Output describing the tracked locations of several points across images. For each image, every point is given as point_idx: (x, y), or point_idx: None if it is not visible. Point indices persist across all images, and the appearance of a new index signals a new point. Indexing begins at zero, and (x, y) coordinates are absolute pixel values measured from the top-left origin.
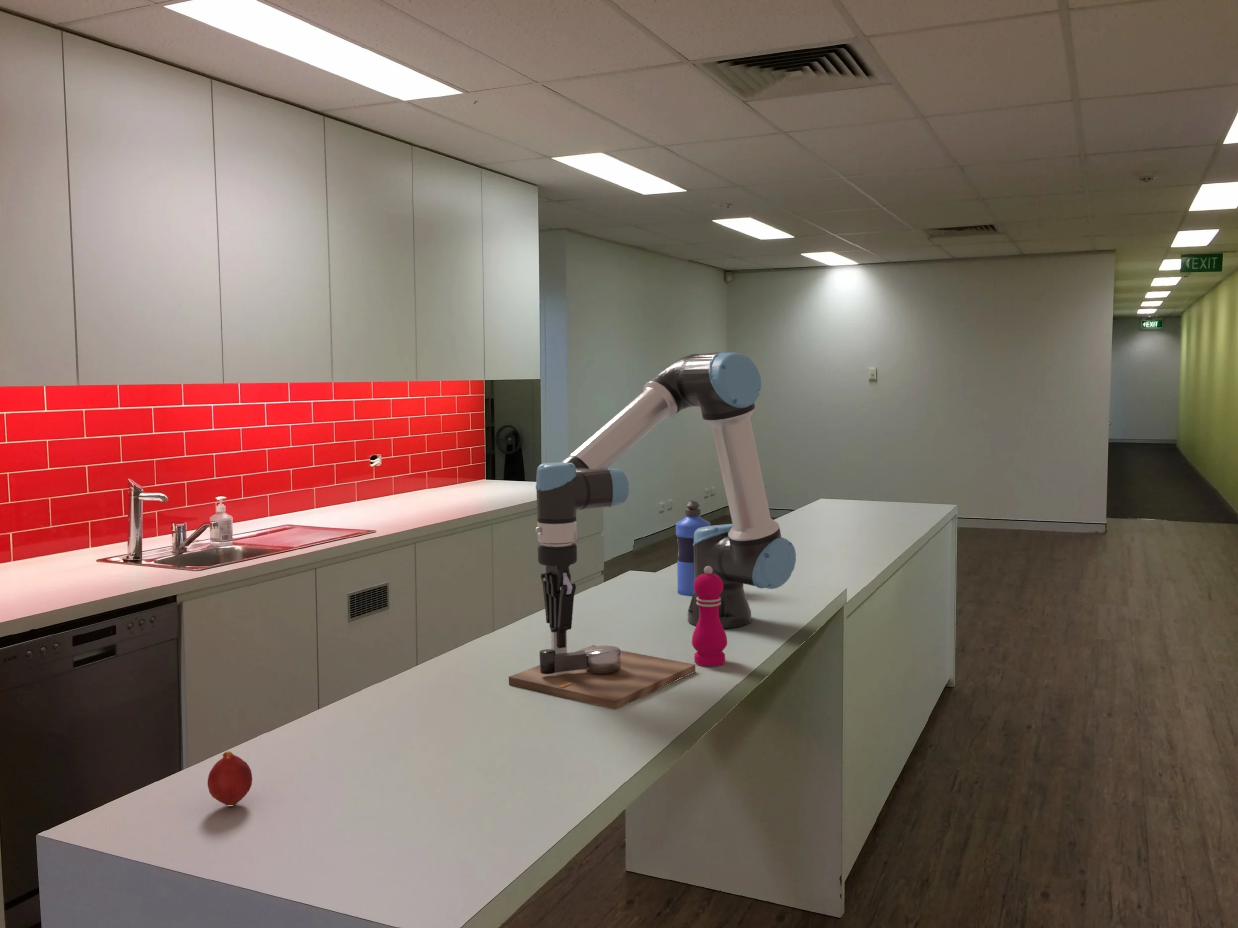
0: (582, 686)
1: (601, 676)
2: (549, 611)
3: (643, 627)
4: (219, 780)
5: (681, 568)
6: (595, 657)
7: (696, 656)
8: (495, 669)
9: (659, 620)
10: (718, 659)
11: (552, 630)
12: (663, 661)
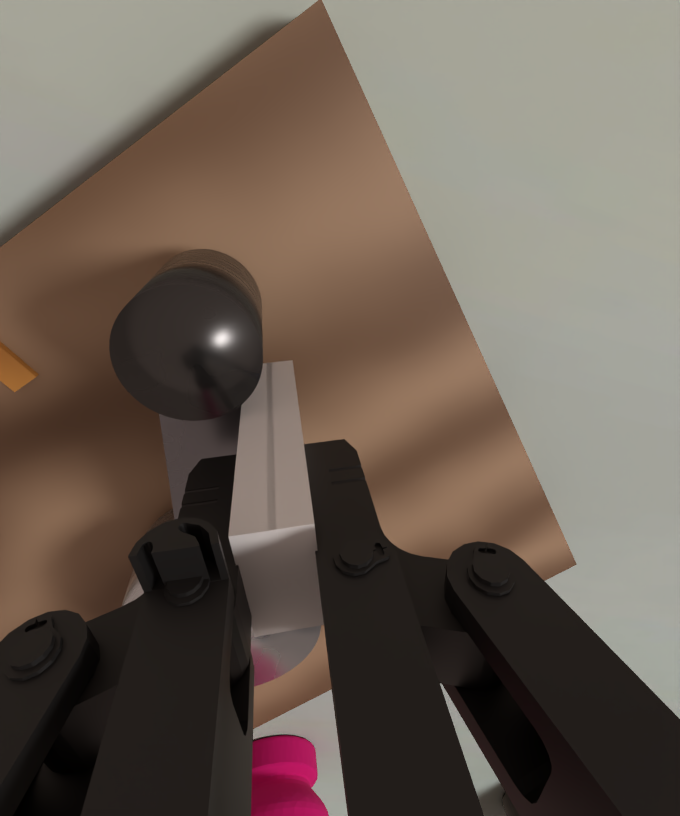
0: None
1: (136, 531)
2: (456, 774)
3: (660, 673)
4: None
5: None
6: (134, 592)
7: (267, 765)
8: (661, 36)
9: (677, 702)
10: None
11: (134, 547)
12: (263, 705)
